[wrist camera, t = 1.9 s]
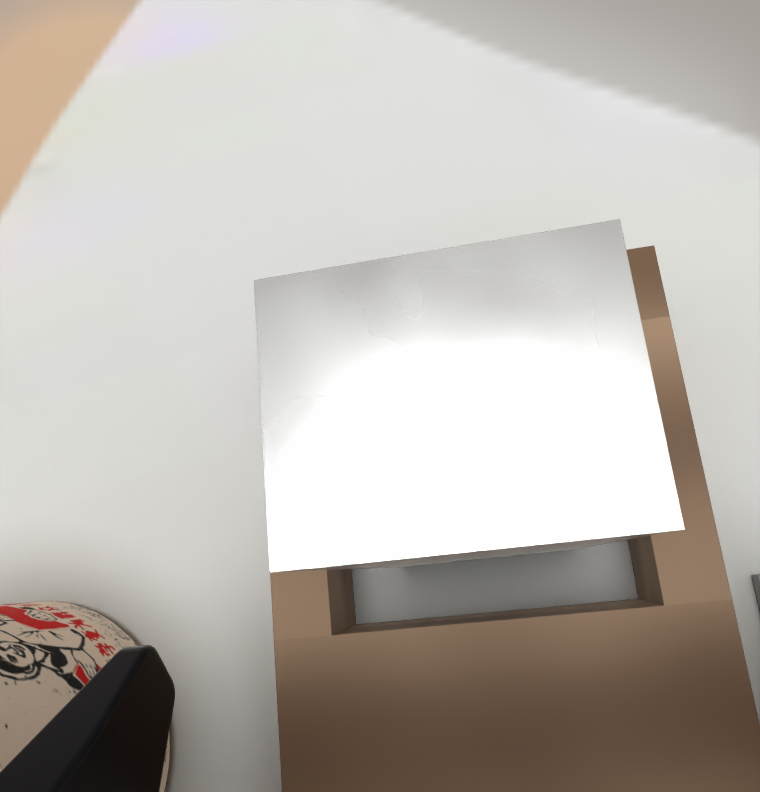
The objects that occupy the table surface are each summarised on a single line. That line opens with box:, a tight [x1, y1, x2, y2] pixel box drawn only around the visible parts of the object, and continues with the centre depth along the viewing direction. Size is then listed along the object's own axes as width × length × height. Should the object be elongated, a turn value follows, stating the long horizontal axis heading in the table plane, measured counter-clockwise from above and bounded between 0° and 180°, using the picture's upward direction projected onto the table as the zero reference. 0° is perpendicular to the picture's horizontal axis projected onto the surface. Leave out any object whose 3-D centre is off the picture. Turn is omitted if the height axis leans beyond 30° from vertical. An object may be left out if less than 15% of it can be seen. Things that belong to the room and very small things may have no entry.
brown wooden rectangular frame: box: [270, 246, 760, 792], centre depth 18 cm, size 14×11×3 cm
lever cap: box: [254, 219, 685, 573], centre depth 14 cm, size 4×5×12 cm
